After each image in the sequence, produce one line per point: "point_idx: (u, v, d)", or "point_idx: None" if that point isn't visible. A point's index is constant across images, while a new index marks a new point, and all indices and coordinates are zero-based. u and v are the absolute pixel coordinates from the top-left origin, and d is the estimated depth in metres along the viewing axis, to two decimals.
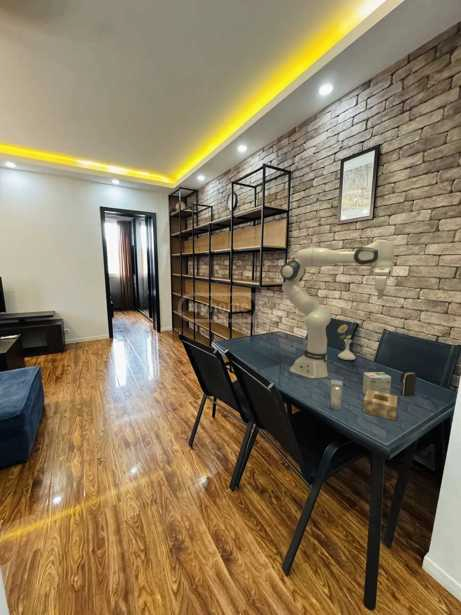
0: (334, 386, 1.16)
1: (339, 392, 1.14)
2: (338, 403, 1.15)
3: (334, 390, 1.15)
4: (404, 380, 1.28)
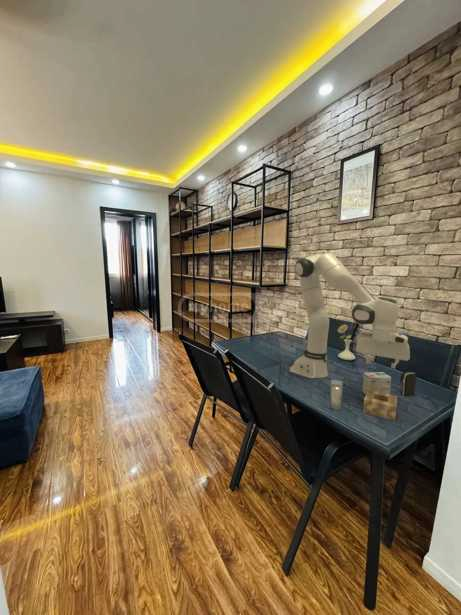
0: (334, 386, 1.16)
1: (339, 392, 1.14)
2: (338, 403, 1.15)
3: (334, 390, 1.15)
4: (404, 380, 1.28)
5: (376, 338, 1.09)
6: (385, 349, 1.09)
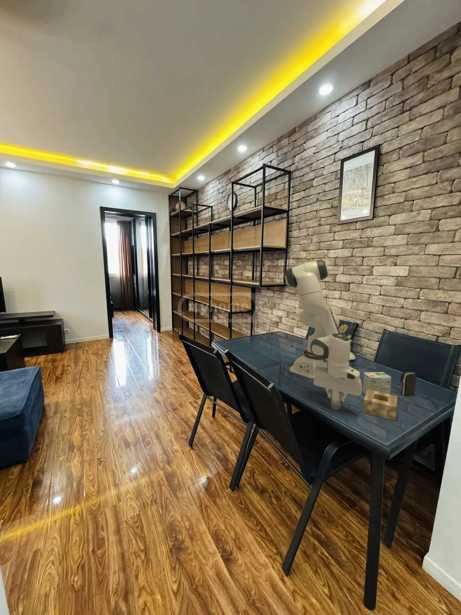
0: None
1: (339, 392, 1.14)
2: (338, 403, 1.15)
3: (334, 390, 1.15)
4: (404, 380, 1.28)
5: (330, 373, 1.13)
6: (338, 384, 1.14)
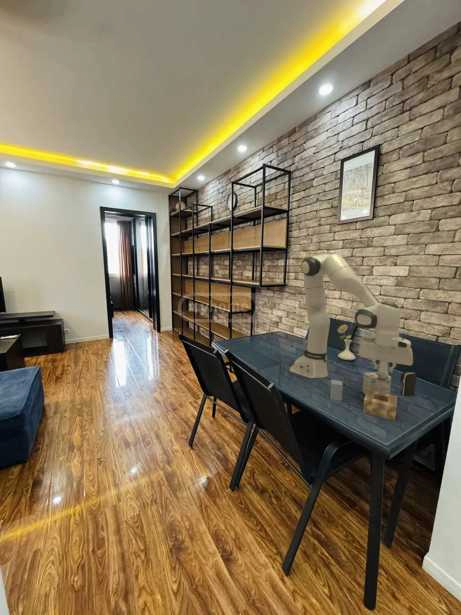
0: None
1: (387, 363, 1.10)
2: (386, 375, 1.11)
3: (382, 361, 1.11)
4: (404, 380, 1.28)
5: (379, 343, 1.09)
6: (387, 354, 1.09)
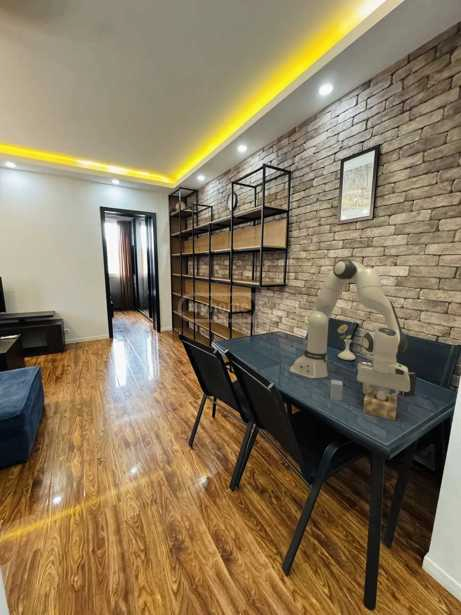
0: (379, 388, 1.14)
1: (385, 395, 1.12)
2: None
3: (379, 393, 1.13)
4: None
5: (376, 369, 1.11)
6: (385, 380, 1.11)
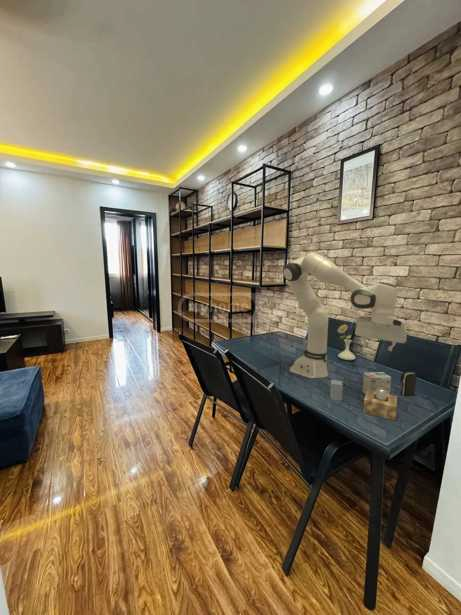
0: (379, 388, 1.14)
1: (385, 395, 1.12)
2: None
3: (379, 393, 1.13)
4: (404, 380, 1.28)
5: (375, 321, 1.13)
6: (382, 332, 1.14)
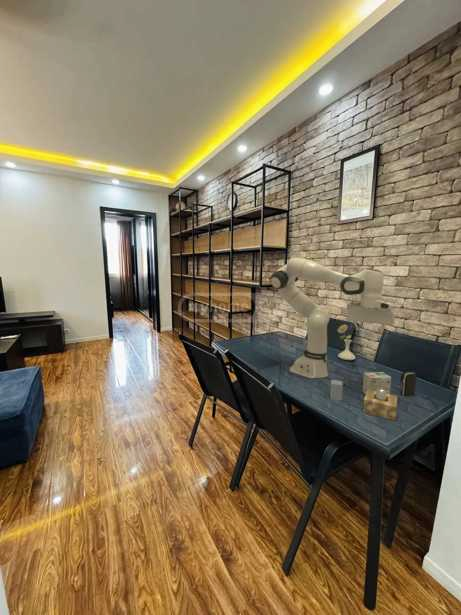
0: (379, 388, 1.14)
1: (385, 395, 1.12)
2: None
3: (379, 393, 1.13)
4: (404, 380, 1.28)
5: (364, 305, 1.20)
6: (372, 316, 1.20)
